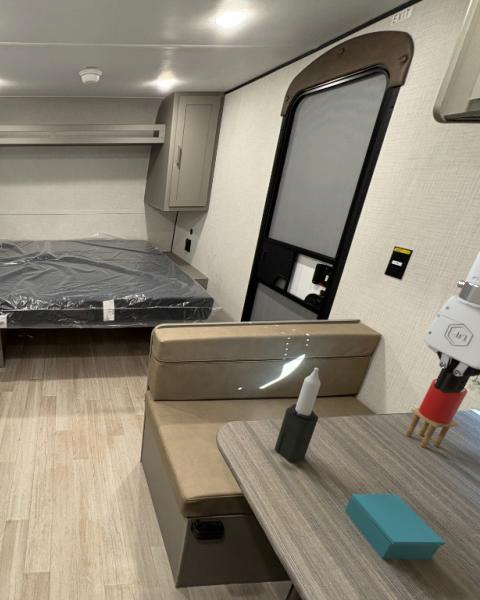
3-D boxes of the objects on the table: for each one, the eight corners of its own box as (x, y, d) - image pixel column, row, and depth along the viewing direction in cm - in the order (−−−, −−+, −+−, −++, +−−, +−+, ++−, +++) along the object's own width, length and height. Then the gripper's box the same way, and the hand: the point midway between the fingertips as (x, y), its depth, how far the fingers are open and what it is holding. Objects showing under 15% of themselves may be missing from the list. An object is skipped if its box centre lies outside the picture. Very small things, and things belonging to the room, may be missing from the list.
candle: (271, 450, 78) (297, 364, 69) (285, 444, 80) (312, 359, 71) (291, 466, 74) (321, 377, 65) (305, 459, 76) (337, 371, 67)
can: (439, 410, 80) (454, 380, 77) (457, 425, 75) (475, 394, 72) (412, 406, 82) (427, 376, 78) (428, 421, 77) (445, 390, 73)
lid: (443, 545, 54) (445, 542, 54) (392, 545, 54) (394, 541, 54) (395, 497, 62) (396, 494, 62) (351, 496, 62) (352, 493, 62)
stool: (420, 431, 84) (432, 407, 81) (445, 449, 79) (459, 424, 76) (400, 432, 84) (411, 408, 81) (423, 450, 79) (437, 425, 76)
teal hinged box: (429, 561, 56) (440, 544, 54) (381, 560, 56) (390, 544, 54) (386, 513, 64) (395, 497, 62) (343, 512, 64) (351, 496, 62)
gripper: (425, 282, 58) (389, 367, 65) (533, 316, 44) (472, 419, 51) (466, 282, 58) (425, 367, 65) (587, 316, 44) (519, 420, 51)
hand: (446, 390), depth 58 cm, fingers closed
